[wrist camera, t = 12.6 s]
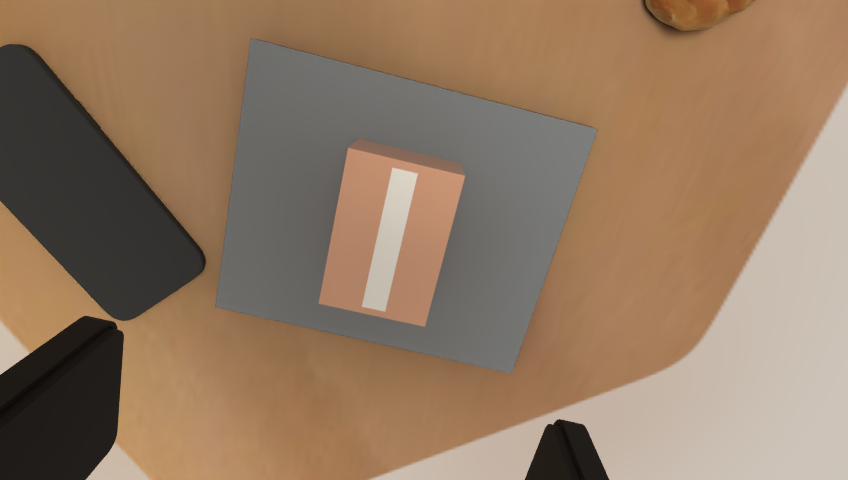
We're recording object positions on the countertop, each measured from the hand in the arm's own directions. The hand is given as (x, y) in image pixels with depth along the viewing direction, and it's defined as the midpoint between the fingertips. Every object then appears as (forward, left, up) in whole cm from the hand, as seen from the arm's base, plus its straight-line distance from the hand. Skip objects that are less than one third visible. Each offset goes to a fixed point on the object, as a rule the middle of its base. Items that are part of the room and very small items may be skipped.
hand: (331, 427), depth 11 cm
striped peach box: (0, 0, -17) cm, 17 cm away
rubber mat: (0, 0, -18) cm, 18 cm away
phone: (-17, -3, -19) cm, 26 cm away
